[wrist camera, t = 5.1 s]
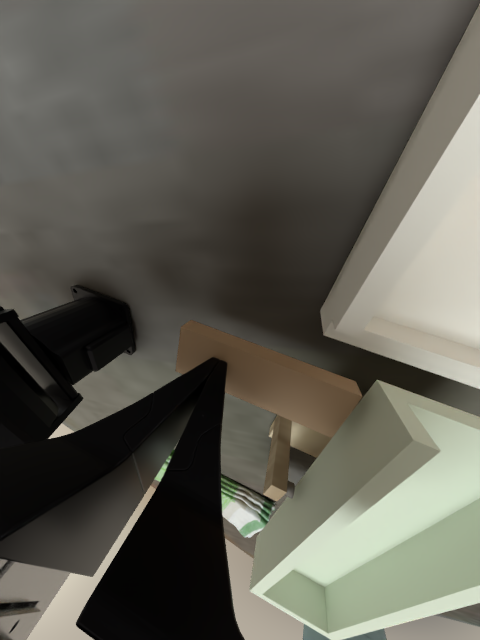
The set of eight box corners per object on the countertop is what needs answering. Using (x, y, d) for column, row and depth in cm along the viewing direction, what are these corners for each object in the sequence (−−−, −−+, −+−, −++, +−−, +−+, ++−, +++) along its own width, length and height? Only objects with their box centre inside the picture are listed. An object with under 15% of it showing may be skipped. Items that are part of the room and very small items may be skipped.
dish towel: (251, 521, 38) (247, 546, 35) (156, 470, 41) (145, 489, 38) (279, 498, 29) (276, 530, 26) (154, 434, 32) (138, 456, 29)
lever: (166, 487, 19) (144, 528, 16) (192, 311, 10) (154, 335, 7) (327, 575, 16) (334, 641, 13) (544, 440, 8) (682, 548, 5)
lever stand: (267, 425, 20) (252, 506, 14) (294, 378, 15) (287, 466, 10) (369, 470, 18) (396, 580, 13) (431, 431, 14) (512, 572, 8)
